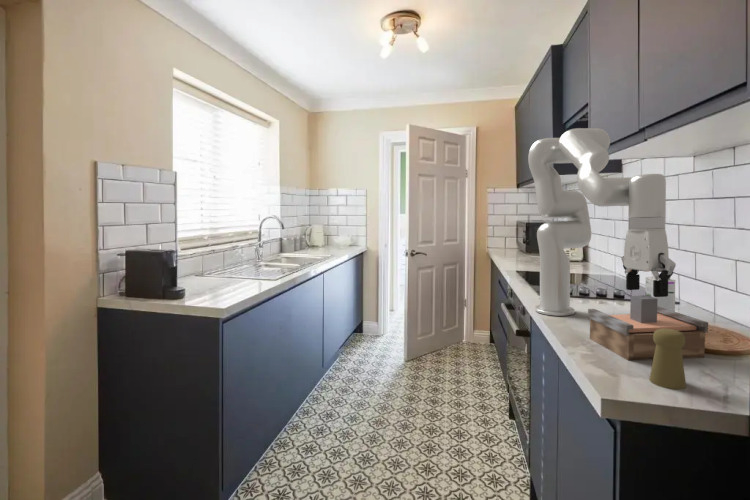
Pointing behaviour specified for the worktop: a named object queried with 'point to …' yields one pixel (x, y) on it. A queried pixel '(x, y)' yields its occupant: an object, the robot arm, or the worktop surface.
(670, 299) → the syrup box
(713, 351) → the worktop surface
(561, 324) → the worktop surface
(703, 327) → the box
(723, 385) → the worktop surface
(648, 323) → the lid
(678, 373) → the cork
